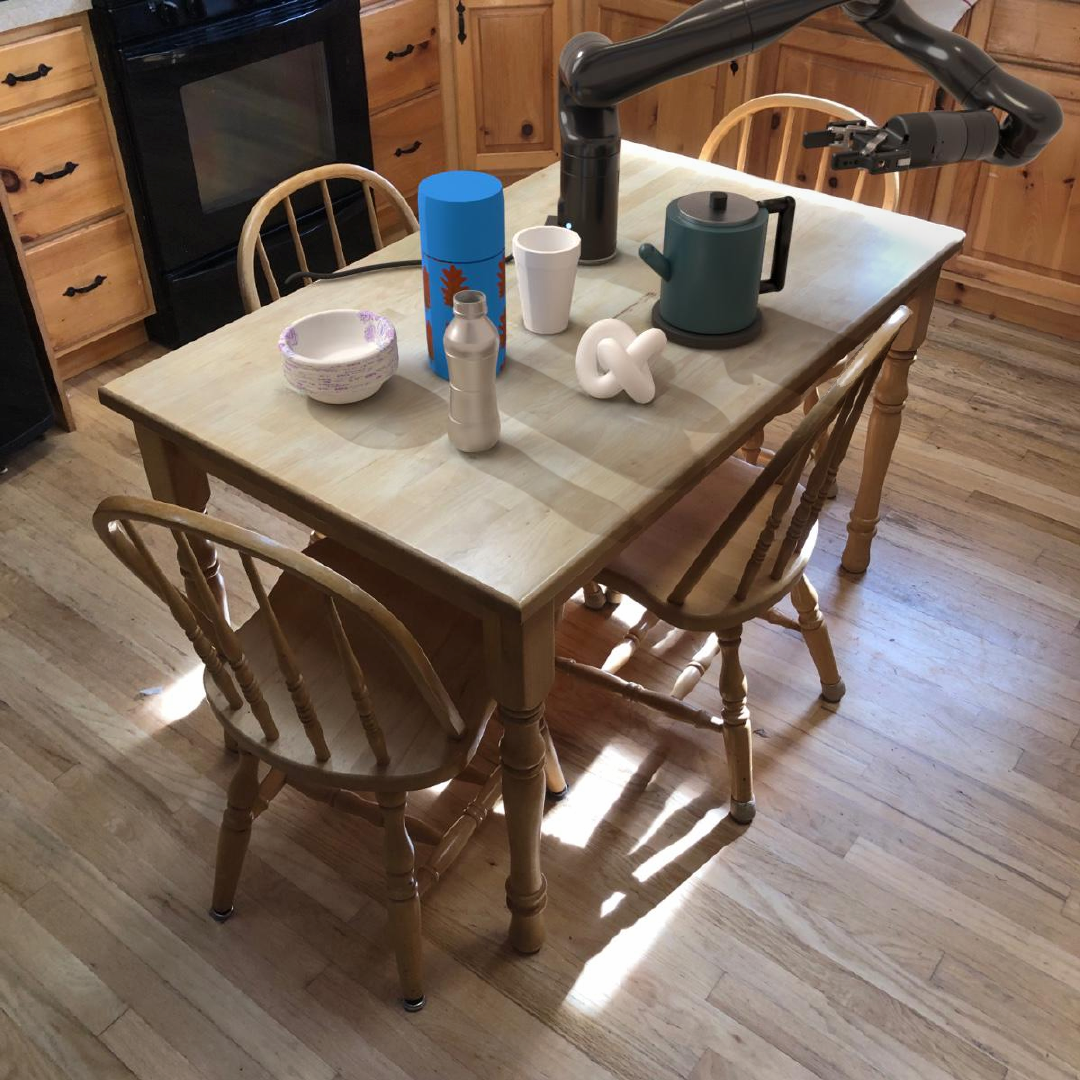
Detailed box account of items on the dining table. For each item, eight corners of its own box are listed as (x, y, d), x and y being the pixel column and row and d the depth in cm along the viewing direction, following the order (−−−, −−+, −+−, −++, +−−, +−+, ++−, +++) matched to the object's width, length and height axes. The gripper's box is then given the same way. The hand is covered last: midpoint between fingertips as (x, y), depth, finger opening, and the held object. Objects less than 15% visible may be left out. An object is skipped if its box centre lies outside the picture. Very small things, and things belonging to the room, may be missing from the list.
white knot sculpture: (678, 412, 153) (683, 350, 147) (587, 420, 151) (589, 358, 145) (656, 369, 161) (660, 309, 156) (570, 377, 160) (571, 316, 154)
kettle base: (646, 345, 167) (647, 334, 166) (655, 294, 179) (656, 285, 178) (761, 353, 165) (762, 343, 164) (762, 302, 177) (763, 292, 176)
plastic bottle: (446, 431, 149) (438, 285, 136) (500, 429, 149) (497, 283, 137) (447, 460, 144) (439, 310, 131) (503, 458, 144) (500, 308, 132)
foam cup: (588, 317, 173) (591, 232, 166) (562, 344, 167) (564, 258, 159) (530, 304, 177) (529, 221, 169) (502, 331, 170) (501, 245, 162)
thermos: (496, 386, 158) (492, 205, 142) (418, 378, 159) (406, 198, 144) (513, 348, 166) (512, 173, 151) (440, 340, 168) (430, 167, 152)
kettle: (655, 346, 163) (663, 225, 152) (615, 302, 173) (621, 187, 162) (805, 319, 169) (823, 201, 158) (758, 278, 179) (772, 166, 169)
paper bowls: (265, 380, 159) (257, 327, 154) (364, 348, 166) (359, 296, 161) (319, 430, 149) (312, 375, 144) (422, 393, 156) (418, 339, 151)
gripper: (903, 97, 167) (798, 106, 164) (957, 130, 156) (846, 140, 153) (893, 149, 172) (790, 160, 168) (945, 185, 161) (837, 197, 157)
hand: (817, 150), depth 160 cm, fingers open, 8 cm apart
